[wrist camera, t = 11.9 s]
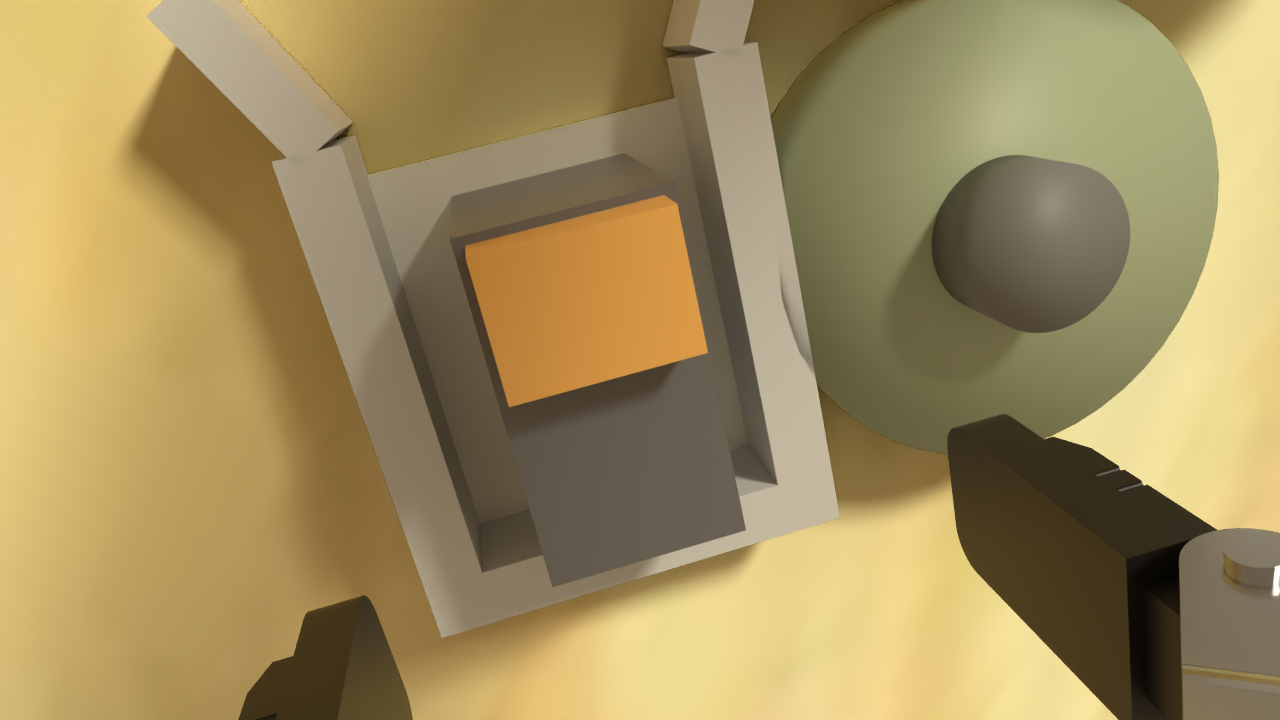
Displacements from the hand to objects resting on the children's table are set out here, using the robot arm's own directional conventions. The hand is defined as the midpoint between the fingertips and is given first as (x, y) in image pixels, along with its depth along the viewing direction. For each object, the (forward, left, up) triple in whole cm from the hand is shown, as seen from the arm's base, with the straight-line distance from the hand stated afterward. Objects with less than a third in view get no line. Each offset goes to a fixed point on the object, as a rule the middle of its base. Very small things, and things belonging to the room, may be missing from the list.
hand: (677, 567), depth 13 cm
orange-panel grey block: (0, 0, -13) cm, 13 cm away
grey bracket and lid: (-1, +5, -14) cm, 15 cm away
